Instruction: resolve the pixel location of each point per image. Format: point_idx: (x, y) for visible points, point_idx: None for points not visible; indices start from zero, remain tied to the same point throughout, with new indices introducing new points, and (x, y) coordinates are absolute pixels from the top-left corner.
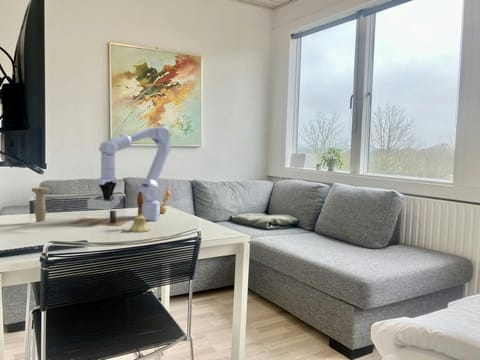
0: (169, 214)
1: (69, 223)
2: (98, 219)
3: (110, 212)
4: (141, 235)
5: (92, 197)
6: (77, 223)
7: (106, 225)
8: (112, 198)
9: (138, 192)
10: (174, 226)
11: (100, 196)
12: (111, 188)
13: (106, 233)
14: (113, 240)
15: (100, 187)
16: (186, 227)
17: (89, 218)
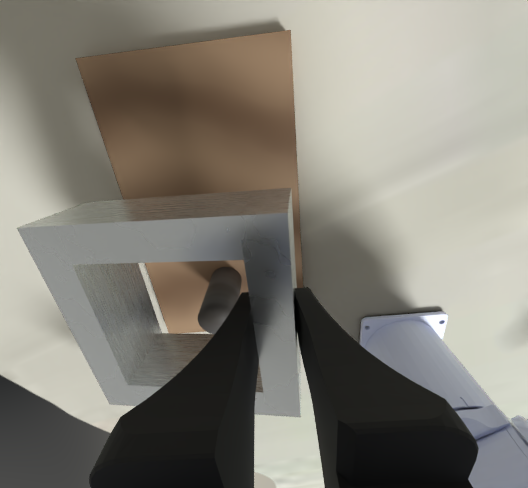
0: (524, 382)
1: (80, 64)
2: (272, 175)
3: (200, 308)
4: (121, 408)
5: (137, 223)
6: (110, 118)
7: (152, 283)
8: None
9: (523, 466)
10: (285, 441)
11: (248, 267)
12: (319, 437)
13: None
14: (13, 371)
15: (153, 396)
16: (283, 464)
17: (283, 100)
